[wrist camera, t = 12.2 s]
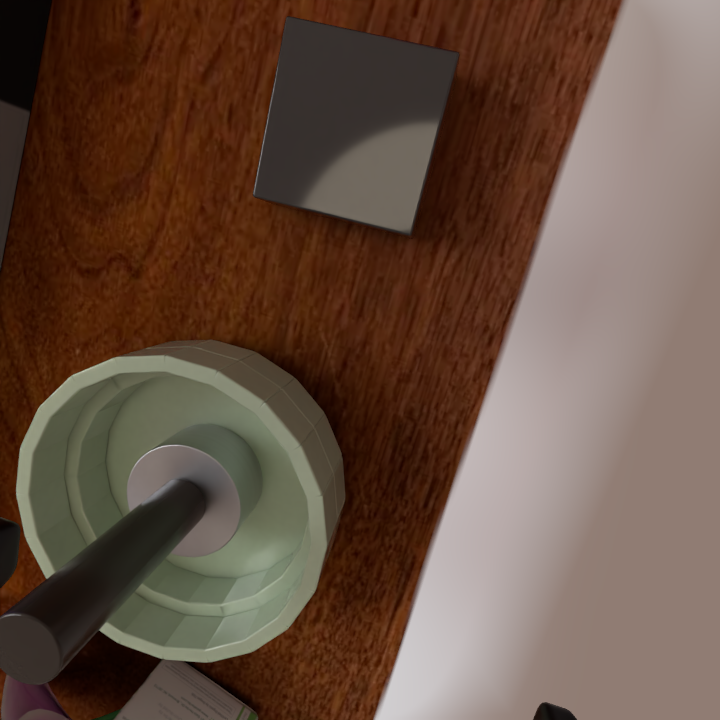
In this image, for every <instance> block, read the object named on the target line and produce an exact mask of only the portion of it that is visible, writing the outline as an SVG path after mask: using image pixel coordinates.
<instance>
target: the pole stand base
mask: <svg viewBox="0 0 720 720" xmlns="http://www.w3.org/2000/svg"><path fill="white" fill-rule="evenodd" d="M458 64H459V53H458V52H456V51H451V50H446V49H441V48H437V47H432V46H427V45H422V44H418V43H413V42H408V41H403V40H399V39H394V38H389V37H384V36H380V35H375V34H370V33H366V32H361V31H356V30H351V29H347V28H342V27H337V26H332V25H328V24H323V23H318V22H313V21H309V20H304V19H299V18H294V17H290V16H287V17H286V22H285V27H284V32H283V38H282V43H281V48H280V53H279V59H278V64H277V69H276V75H275V80H274V85H273V90H272V96H271V101H270V106H269V112H268V117H267V122H266V128H265V133H264V138H263V143H262V149H261V154H260V159H259V165H258V170H257V175H256V180H255V186H254V191H253V196H254V197H255V198H258V199H260V200H263V201H265V202H268V203H271V204H274V205H278V206H282V207H286V208H290V209H294V210H298V211H302V212H306V213H310V214H314V215H318V216H322V217H326V218H330V219H334V220H338V221H342V222H346V223H350V224H354V225H358V226H362V227H366V228H370V229H374V230H377V231H381V232H385V233H389V234H393V235H397V236H401V237H405V238H409V239H413V238H414V236H415V232H416V228H417V225H418V221H419V217H420V213H421V210H422V206H423V202H424V198H425V195H426V191H427V187H428V183H429V180H430V176H431V172H432V168H433V165H434V161H435V157H436V153H437V150H438V146H439V142H440V138H441V135H442V131H443V127H444V124H445V120H446V116H447V112H448V109H449V105H450V101H451V97H452V94H453V90H454V86H455V82H456V79H457V72H458Z"/></svg>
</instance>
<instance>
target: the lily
mask: <svg viewBox="0 0 720 720" xmlns="http://www.w3.org/2000/svg"><path fill="white" fill-rule="evenodd" d="M121 709H122V708H121ZM121 709H119V710H117V711H115V712H112V713H109V714H107V715H104V716H102V717H99V718H95V719H92V720H113V719H114V718H115V717H116V716H117V715H118V713H119V712H120V711H121ZM1 718H2V720H72V719H71V718H70V717H69V716H68V714H67V713H66V712H65V710H64V709H63V708H62V706H61V705H60V703H59V702H58V700H57V699H56V697H55V695H54V694H53V692H52V690H51V689H50V686H49V684H48V682H47V683H45V684H40V685H30V684H25V683H22V682H19V681H17V680H15V679H13V678H12V677H10V676H9V675H7V676H6V680H5V684H4V690H3V698H2V707H1Z"/></svg>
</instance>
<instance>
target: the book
mask: <svg viewBox="0 0 720 720" xmlns="http://www.w3.org/2000/svg"><path fill="white" fill-rule="evenodd" d="M50 5H51V0H0V269H1V264H2V259H3V254H4V248H5V243H6V238H7V232H8V227H9V222H10V216H11V211H12V206H13V201H14V195H15V190H16V185H17V179H18V174H19V169H20V164H21V158H22V153H23V148H24V142H25V137H26V132H27V127H28V121H29V116H30V111H31V105H32V100H33V95H34V90H35V84H36V79H37V74H38V68H39V63H40V58H41V52H42V47H43V42H44V37H45V31H46V26H47V21H48V15H49V10H50Z"/></svg>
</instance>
